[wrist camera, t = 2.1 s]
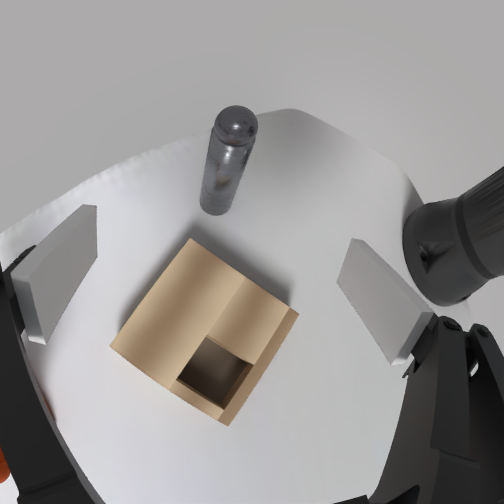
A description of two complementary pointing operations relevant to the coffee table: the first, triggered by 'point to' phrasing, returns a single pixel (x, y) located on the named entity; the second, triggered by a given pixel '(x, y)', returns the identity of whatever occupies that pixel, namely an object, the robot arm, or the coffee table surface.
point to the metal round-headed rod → (227, 157)
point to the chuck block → (205, 332)
